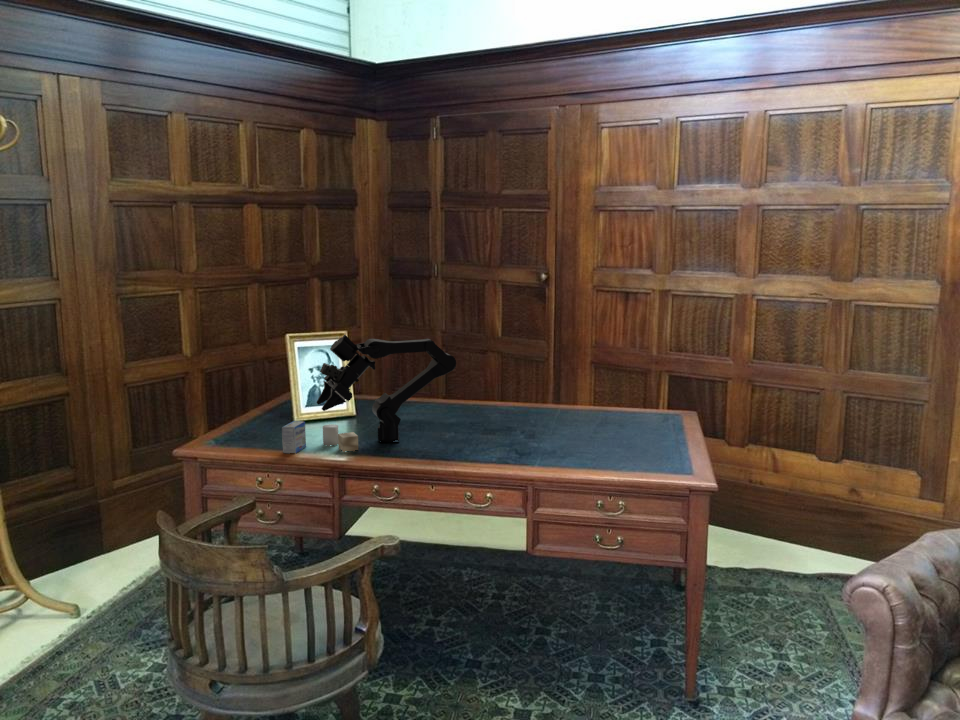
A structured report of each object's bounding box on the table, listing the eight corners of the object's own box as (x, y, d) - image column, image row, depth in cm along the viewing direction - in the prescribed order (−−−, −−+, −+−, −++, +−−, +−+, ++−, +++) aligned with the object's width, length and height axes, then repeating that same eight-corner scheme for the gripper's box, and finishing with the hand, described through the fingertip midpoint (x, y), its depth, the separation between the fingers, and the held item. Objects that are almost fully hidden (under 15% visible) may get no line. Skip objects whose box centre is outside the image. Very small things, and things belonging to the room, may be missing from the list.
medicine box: (295, 454, 249) (294, 427, 248) (282, 453, 250) (281, 426, 249) (306, 447, 257) (305, 421, 255) (293, 446, 258) (292, 420, 256)
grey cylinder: (339, 441, 263) (338, 424, 262) (338, 445, 259) (337, 428, 257) (323, 442, 263) (323, 424, 262) (322, 446, 258) (322, 428, 257)
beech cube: (353, 446, 258) (353, 432, 257) (358, 450, 253) (358, 435, 253) (338, 448, 256) (338, 433, 255) (343, 452, 251) (342, 437, 250)
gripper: (329, 349, 262) (296, 385, 260) (340, 359, 245) (306, 397, 243) (353, 371, 266) (321, 406, 264) (366, 382, 249) (332, 419, 247)
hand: (319, 406), depth 254 cm, fingers open, 9 cm apart
